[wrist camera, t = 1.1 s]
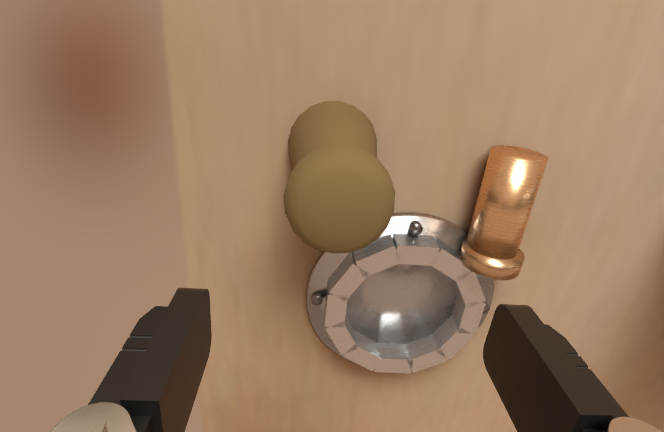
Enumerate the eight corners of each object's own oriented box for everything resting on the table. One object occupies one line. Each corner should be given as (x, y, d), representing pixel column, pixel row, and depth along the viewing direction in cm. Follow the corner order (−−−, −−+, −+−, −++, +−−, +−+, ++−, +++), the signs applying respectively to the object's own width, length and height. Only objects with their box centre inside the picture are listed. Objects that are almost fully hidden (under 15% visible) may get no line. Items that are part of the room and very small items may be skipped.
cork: (333, 204, 29) (342, 296, 19) (269, 148, 27) (242, 219, 17) (395, 144, 27) (439, 212, 18) (331, 80, 26) (339, 116, 16)
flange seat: (513, 219, 30) (528, 234, 28) (467, 367, 37) (476, 389, 34) (313, 205, 29) (313, 220, 27) (301, 360, 36) (300, 382, 33)
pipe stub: (477, 143, 28) (503, 162, 24) (536, 148, 28) (570, 167, 24) (452, 247, 31) (470, 278, 27) (504, 250, 31) (530, 281, 28)
